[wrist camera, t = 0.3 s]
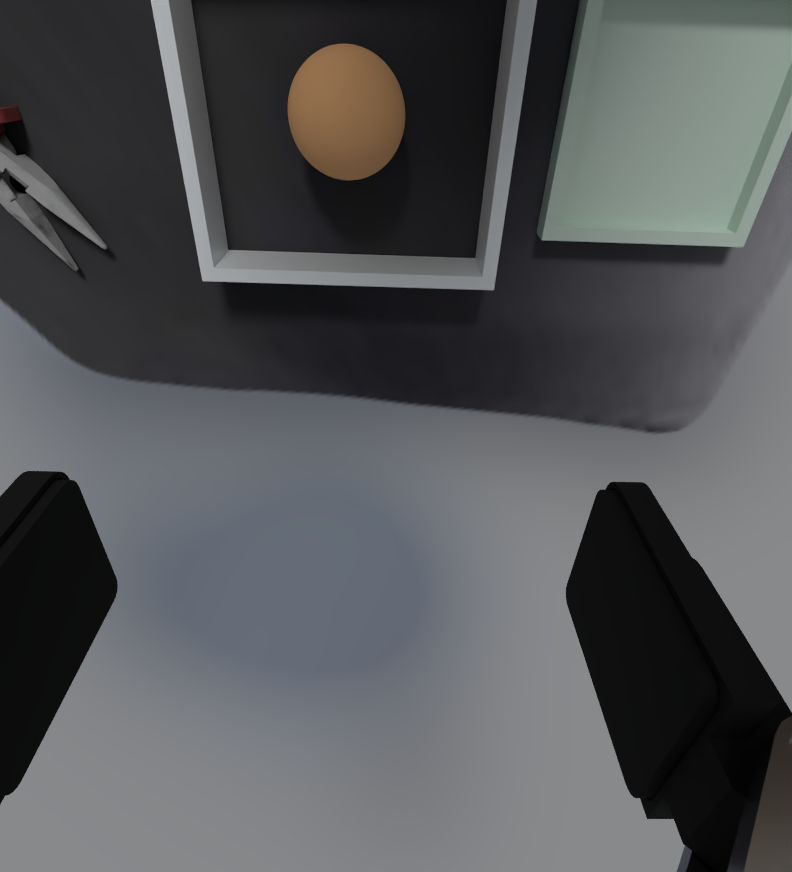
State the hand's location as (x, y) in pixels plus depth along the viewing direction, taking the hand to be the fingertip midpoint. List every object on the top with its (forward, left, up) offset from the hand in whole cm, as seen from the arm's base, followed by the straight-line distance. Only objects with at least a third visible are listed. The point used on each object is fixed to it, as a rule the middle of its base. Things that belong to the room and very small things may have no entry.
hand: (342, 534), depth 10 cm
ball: (-4, -1, -25) cm, 25 cm away
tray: (-4, +17, -28) cm, 33 cm away
